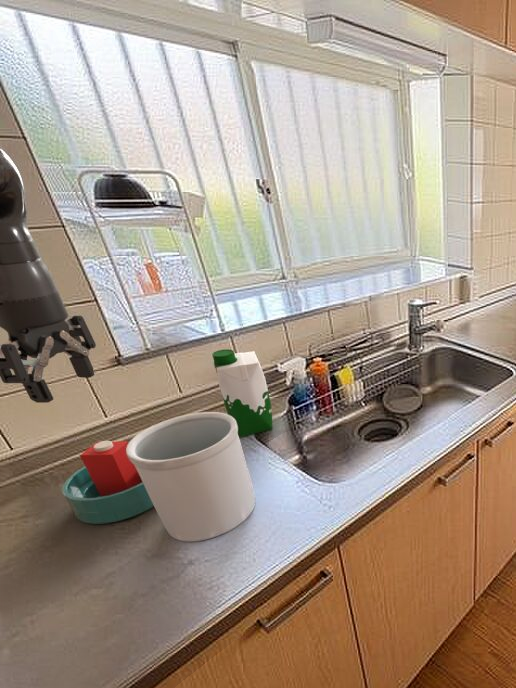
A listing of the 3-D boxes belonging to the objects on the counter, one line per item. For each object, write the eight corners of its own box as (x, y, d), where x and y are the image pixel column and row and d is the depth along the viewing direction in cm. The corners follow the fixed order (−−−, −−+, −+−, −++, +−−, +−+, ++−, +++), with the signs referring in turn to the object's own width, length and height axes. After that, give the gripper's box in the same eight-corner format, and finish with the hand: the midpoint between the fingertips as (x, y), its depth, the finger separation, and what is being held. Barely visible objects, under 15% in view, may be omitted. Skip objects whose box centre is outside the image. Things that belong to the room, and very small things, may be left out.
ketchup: (104, 503, 77) (77, 451, 72) (119, 488, 80) (95, 438, 75) (134, 502, 78) (110, 450, 72) (148, 487, 81) (126, 437, 76)
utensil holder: (151, 513, 76) (115, 433, 68) (241, 475, 87) (219, 402, 78) (176, 560, 68) (138, 475, 60) (272, 512, 78) (250, 434, 70)
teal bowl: (54, 528, 72) (38, 502, 69) (113, 474, 85) (101, 450, 82) (146, 524, 74) (133, 498, 71) (190, 472, 87) (181, 448, 84)
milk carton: (231, 422, 103) (209, 347, 94) (272, 413, 108) (255, 341, 98) (234, 440, 97) (210, 362, 87) (278, 430, 101) (260, 354, 92)
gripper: (33, 278, 67) (74, 369, 74) (-63, 304, 55) (-2, 411, 62) (86, 280, 68) (122, 370, 76) (4, 306, 56) (57, 411, 63)
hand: (66, 388), depth 69 cm, fingers open, 8 cm apart
